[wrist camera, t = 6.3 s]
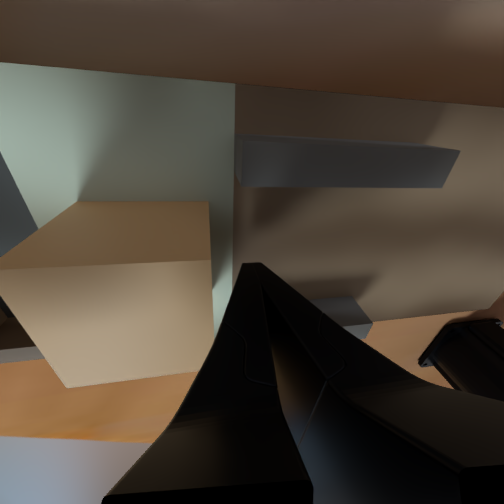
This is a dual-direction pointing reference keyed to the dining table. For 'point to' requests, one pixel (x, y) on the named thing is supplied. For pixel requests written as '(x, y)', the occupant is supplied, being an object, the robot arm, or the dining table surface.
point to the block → (116, 290)
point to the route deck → (269, 184)
